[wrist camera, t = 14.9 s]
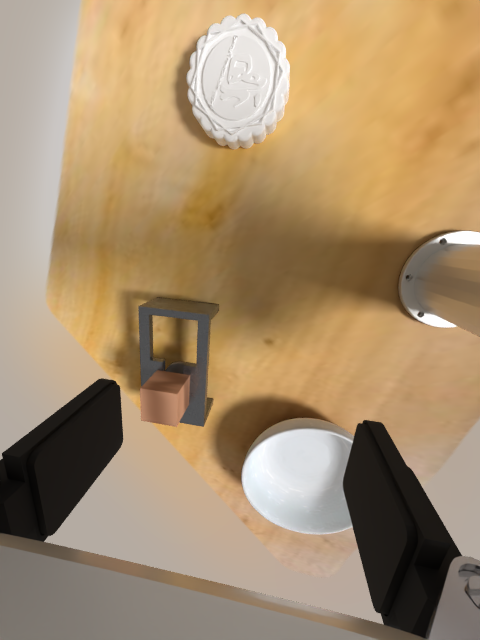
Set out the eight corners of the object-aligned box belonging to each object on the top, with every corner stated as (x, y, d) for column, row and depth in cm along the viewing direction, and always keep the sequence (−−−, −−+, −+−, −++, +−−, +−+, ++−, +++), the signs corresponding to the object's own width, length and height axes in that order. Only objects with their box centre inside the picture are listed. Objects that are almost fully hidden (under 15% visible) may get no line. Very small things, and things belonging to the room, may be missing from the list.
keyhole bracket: (157, 297, 42) (138, 306, 36) (219, 304, 40) (209, 314, 35) (158, 394, 47) (142, 416, 41) (212, 403, 46) (203, 426, 40)
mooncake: (261, 166, 35) (259, 158, 31) (180, 125, 34) (169, 112, 31) (308, 61, 31) (311, 39, 27) (217, 14, 31) (209, -14, 27)
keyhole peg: (197, 363, 41) (178, 393, 33) (196, 392, 43) (177, 427, 35) (166, 359, 42) (139, 387, 34) (166, 387, 43) (140, 421, 35)
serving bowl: (224, 453, 49) (215, 485, 42) (297, 377, 42) (300, 402, 36) (310, 514, 50) (315, 555, 44) (394, 450, 44) (415, 487, 37)
